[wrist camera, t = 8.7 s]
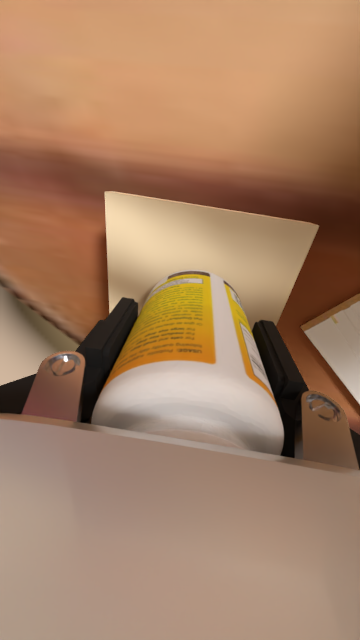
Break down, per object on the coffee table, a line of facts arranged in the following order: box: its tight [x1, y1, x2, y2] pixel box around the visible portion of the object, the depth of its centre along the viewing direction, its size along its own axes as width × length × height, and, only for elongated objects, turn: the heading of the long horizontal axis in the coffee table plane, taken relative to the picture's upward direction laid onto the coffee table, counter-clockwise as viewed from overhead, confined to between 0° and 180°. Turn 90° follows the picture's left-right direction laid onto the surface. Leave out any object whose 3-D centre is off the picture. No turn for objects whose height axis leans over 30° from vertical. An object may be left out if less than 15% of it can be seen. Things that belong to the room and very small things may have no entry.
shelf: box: [105, 191, 319, 332], centre depth 15 cm, size 11×11×7 cm
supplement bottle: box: [91, 270, 284, 456], centre depth 9 cm, size 6×6×10 cm
